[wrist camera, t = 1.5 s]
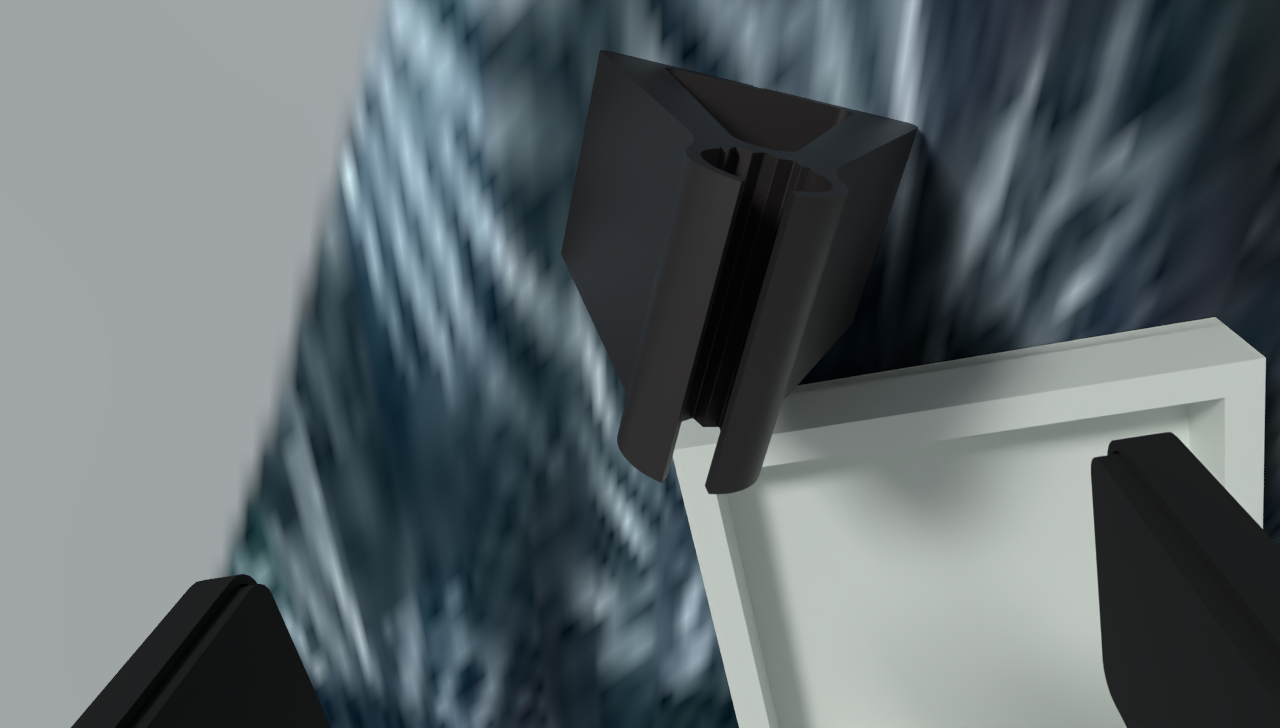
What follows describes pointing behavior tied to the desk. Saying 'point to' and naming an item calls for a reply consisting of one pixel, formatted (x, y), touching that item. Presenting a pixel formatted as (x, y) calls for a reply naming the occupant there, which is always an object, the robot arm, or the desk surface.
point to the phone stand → (721, 248)
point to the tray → (952, 529)
